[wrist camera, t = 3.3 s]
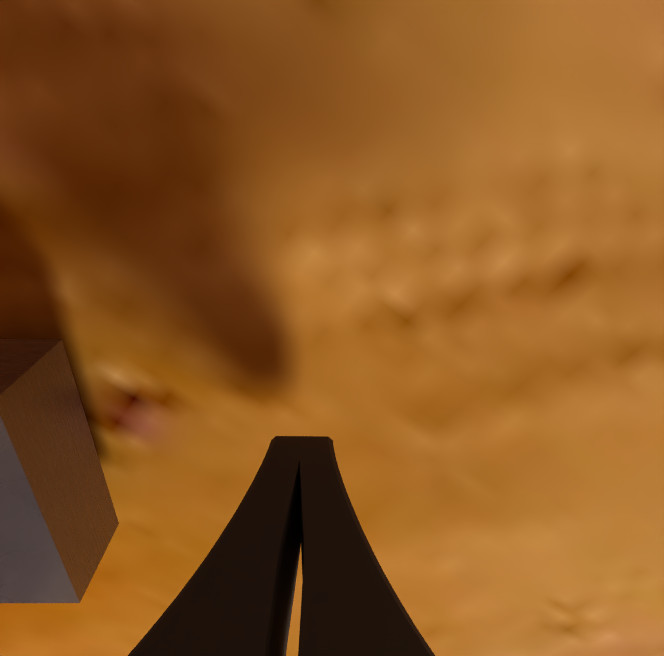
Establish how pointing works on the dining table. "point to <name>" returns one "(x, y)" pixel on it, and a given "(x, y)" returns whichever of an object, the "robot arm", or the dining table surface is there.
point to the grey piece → (47, 479)
